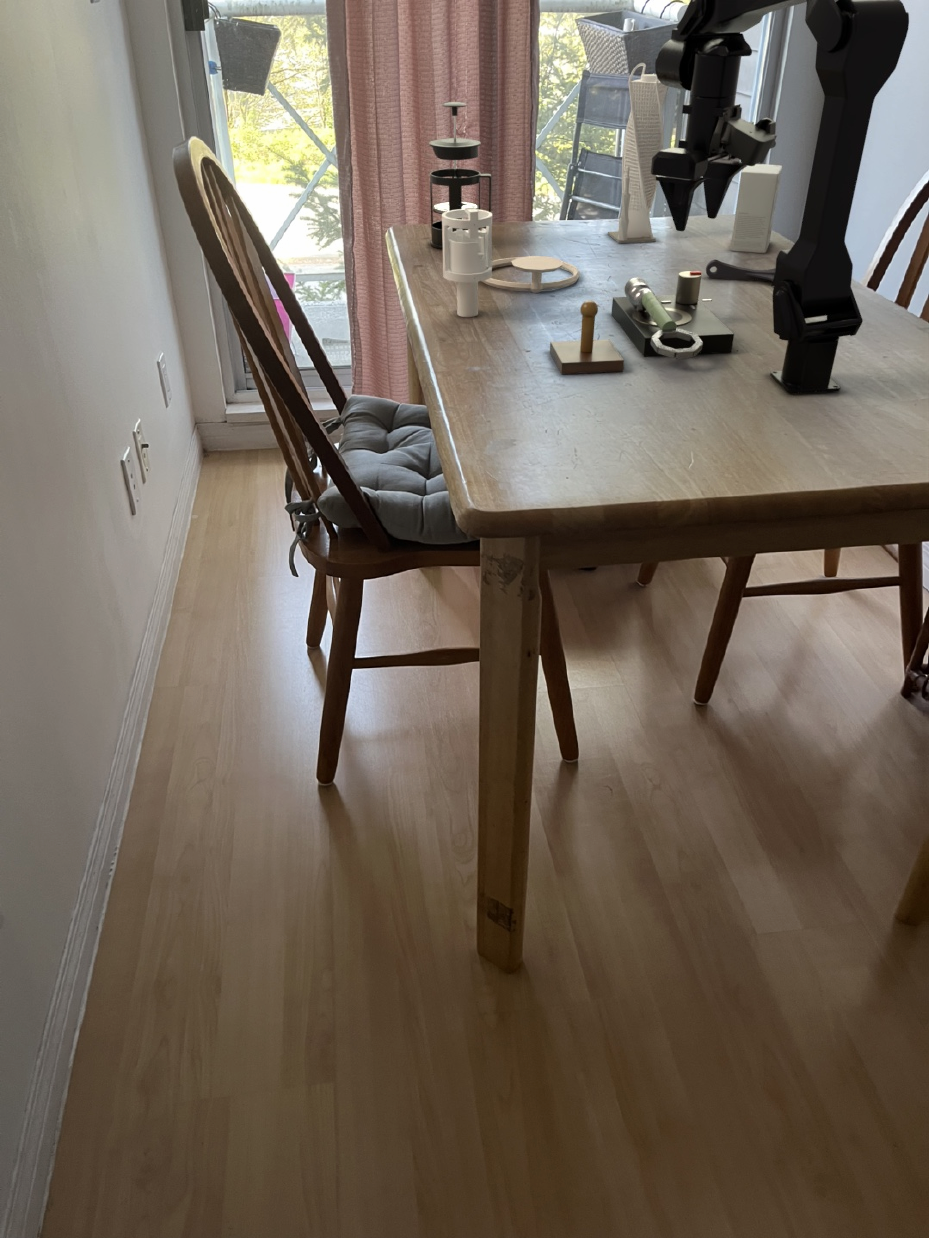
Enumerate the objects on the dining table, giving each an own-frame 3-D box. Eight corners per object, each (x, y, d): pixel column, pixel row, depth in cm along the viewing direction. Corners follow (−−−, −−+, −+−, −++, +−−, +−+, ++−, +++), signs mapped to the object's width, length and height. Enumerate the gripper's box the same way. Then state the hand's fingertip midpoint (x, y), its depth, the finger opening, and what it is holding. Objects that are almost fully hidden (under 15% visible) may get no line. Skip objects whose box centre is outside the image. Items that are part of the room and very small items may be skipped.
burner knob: (678, 305, 134) (682, 275, 132) (672, 298, 137) (676, 269, 135) (700, 304, 135) (704, 274, 132) (694, 297, 137) (698, 268, 135)
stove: (743, 352, 126) (747, 332, 124) (643, 356, 125) (645, 336, 123) (701, 310, 141) (703, 292, 139) (610, 314, 139) (612, 295, 138)
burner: (699, 325, 127) (699, 324, 127) (641, 328, 126) (641, 326, 126) (681, 307, 134) (681, 306, 134) (626, 309, 133) (626, 308, 133)
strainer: (451, 323, 136) (449, 213, 128) (438, 309, 142) (436, 202, 133) (497, 318, 138) (499, 209, 129) (483, 304, 143) (483, 199, 135)
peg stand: (623, 371, 120) (628, 309, 116) (561, 374, 120) (564, 311, 115) (608, 350, 127) (613, 290, 122) (549, 352, 126) (552, 292, 121)
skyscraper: (605, 232, 180) (618, 63, 164) (645, 230, 181) (662, 61, 165) (619, 243, 173) (634, 67, 157) (661, 241, 174) (680, 66, 158)
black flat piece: (704, 265, 161) (706, 248, 159) (794, 269, 158) (797, 252, 157) (705, 290, 149) (708, 272, 147) (803, 295, 147) (807, 276, 145)
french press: (424, 250, 170) (420, 106, 157) (428, 237, 178) (425, 99, 164) (490, 251, 169) (491, 106, 156) (491, 238, 177) (492, 99, 164)
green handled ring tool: (705, 367, 121) (710, 341, 118) (659, 371, 120) (663, 345, 118) (651, 293, 136) (655, 270, 133) (610, 296, 135) (613, 273, 133)
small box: (734, 240, 175) (746, 163, 167) (770, 243, 173) (783, 165, 165) (729, 251, 168) (740, 171, 161) (765, 253, 167) (779, 173, 159)
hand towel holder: (569, 236, 161) (596, 268, 144) (568, 262, 163) (594, 297, 146) (470, 238, 159) (486, 271, 142) (470, 265, 162) (486, 301, 145)
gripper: (739, 108, 111) (719, 247, 120) (802, 92, 123) (780, 220, 132) (655, 101, 116) (642, 234, 125) (723, 87, 128) (707, 209, 137)
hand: (696, 224), depth 130 cm, fingers open, 9 cm apart
